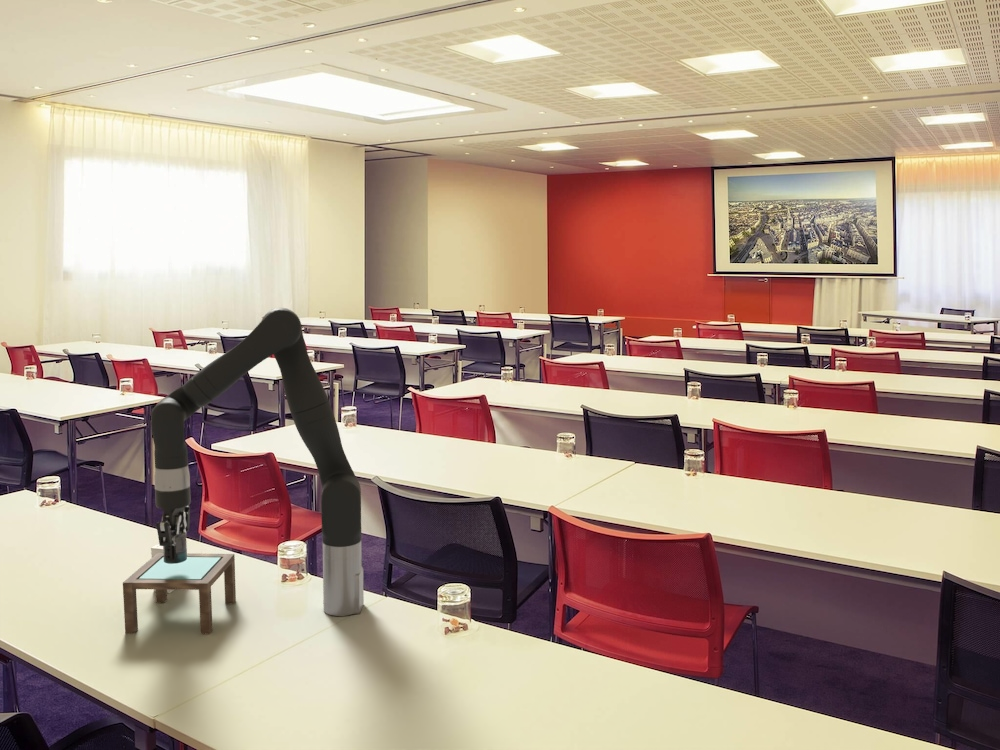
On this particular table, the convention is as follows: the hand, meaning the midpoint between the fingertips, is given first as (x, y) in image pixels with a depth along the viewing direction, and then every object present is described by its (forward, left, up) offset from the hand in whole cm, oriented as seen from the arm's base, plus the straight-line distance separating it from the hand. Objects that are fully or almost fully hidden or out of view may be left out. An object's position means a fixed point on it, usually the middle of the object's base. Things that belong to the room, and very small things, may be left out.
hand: (175, 556), depth 189 cm
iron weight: (0, 0, -1) cm, 1 cm away
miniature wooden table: (0, -3, -16) cm, 16 cm away
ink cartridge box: (+10, -21, -16) cm, 29 cm away
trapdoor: (0, -3, -5) cm, 6 cm away
